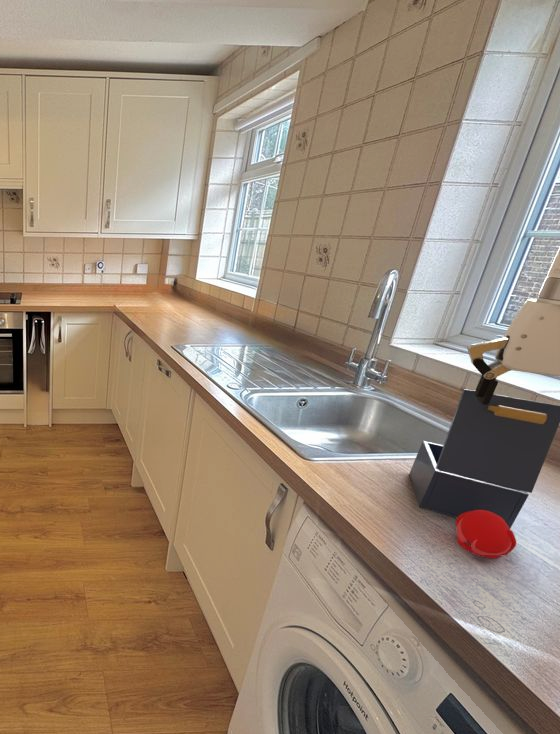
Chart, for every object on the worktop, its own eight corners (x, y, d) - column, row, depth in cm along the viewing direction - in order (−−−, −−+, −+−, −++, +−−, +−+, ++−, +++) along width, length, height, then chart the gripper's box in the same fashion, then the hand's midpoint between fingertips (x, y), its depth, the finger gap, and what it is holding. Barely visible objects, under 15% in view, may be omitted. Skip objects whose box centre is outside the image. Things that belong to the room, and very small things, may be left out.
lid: (463, 388, 68) (475, 392, 63) (563, 406, 62) (585, 411, 58) (435, 467, 71) (444, 476, 66) (529, 491, 65) (547, 503, 60)
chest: (409, 473, 84) (422, 440, 81) (485, 493, 78) (503, 458, 75) (419, 507, 73) (435, 470, 71) (508, 533, 68) (529, 494, 65)
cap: (512, 573, 60) (531, 540, 57) (457, 555, 63) (473, 523, 60) (496, 541, 66) (512, 510, 64) (447, 526, 69) (461, 496, 67)
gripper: (669, 296, 53) (602, 415, 59) (485, 285, 62) (444, 389, 68) (709, 304, 47) (631, 435, 53) (500, 290, 56) (454, 404, 62)
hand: (526, 409), depth 61 cm, fingers open, 9 cm apart
